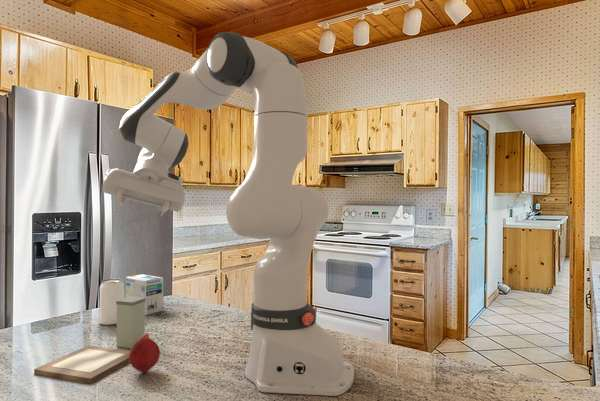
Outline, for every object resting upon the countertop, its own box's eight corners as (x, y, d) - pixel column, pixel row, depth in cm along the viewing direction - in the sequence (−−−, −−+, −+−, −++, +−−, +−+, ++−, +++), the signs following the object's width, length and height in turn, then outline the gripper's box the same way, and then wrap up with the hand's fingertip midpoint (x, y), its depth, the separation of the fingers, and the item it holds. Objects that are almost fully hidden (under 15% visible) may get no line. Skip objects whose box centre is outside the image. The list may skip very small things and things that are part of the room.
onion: (141, 381, 79) (141, 340, 79) (123, 374, 82) (123, 335, 82) (165, 371, 84) (165, 332, 84) (147, 364, 87) (147, 327, 87)
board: (138, 356, 91) (138, 351, 91) (90, 383, 78) (90, 378, 78) (88, 349, 95) (88, 344, 95) (34, 374, 82) (34, 368, 82)
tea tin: (145, 342, 101) (145, 297, 101) (132, 348, 96) (132, 302, 96) (129, 339, 102) (129, 296, 102) (115, 346, 98) (116, 300, 97)
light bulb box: (164, 310, 129) (164, 277, 128) (145, 316, 123) (146, 280, 123) (142, 305, 134) (143, 273, 134) (124, 310, 129) (124, 276, 129)
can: (114, 326, 113) (115, 283, 113) (94, 324, 114) (94, 282, 114) (128, 319, 119) (129, 278, 119) (109, 318, 120) (109, 277, 120)
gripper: (111, 157, 106) (98, 187, 95) (188, 180, 114) (184, 210, 103) (106, 176, 109) (93, 207, 98) (181, 197, 117) (177, 228, 106)
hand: (140, 208), depth 101 cm, fingers open, 8 cm apart
